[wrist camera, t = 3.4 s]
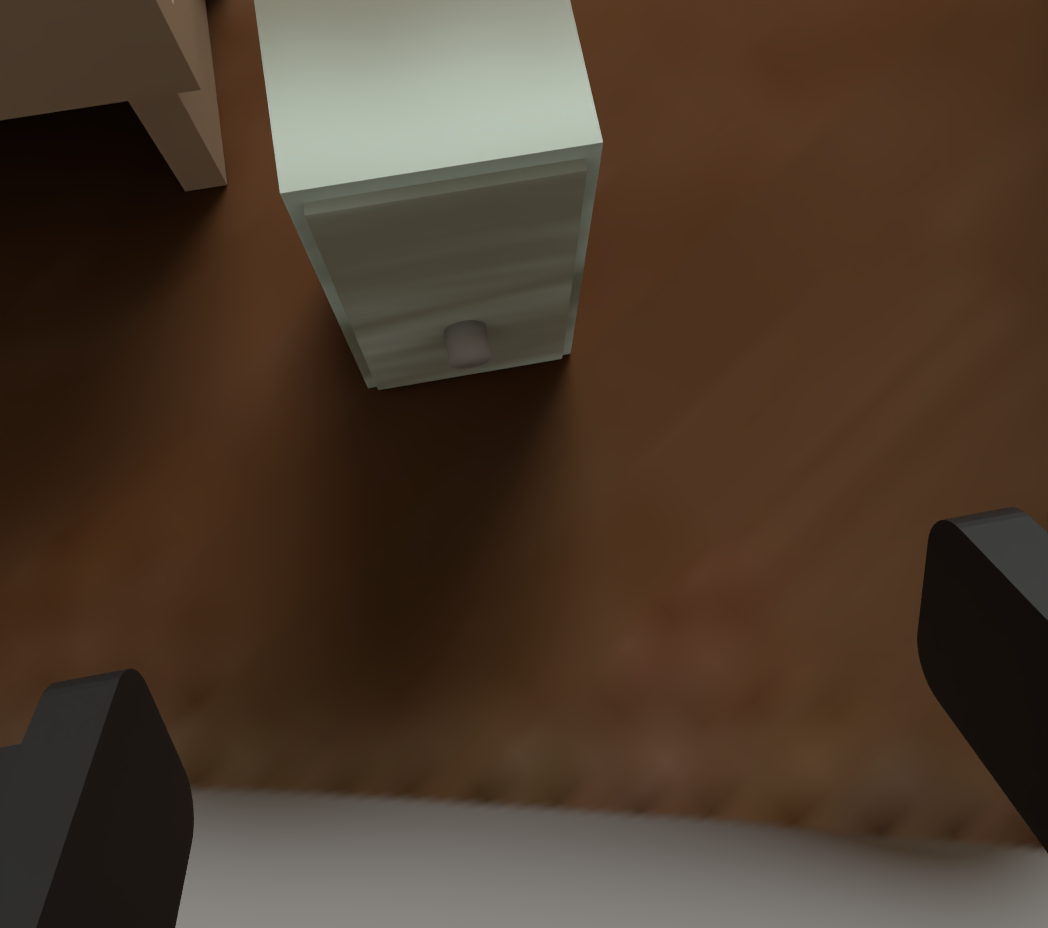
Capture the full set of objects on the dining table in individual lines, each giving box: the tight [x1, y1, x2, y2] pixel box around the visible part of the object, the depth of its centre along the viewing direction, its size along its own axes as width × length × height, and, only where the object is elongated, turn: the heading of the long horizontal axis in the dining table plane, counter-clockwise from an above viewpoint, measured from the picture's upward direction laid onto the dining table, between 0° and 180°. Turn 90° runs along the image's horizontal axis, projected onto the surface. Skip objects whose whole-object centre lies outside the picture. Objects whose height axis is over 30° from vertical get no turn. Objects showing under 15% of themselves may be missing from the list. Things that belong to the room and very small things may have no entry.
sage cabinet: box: [254, 0, 603, 390], centre depth 22 cm, size 6×6×10 cm
